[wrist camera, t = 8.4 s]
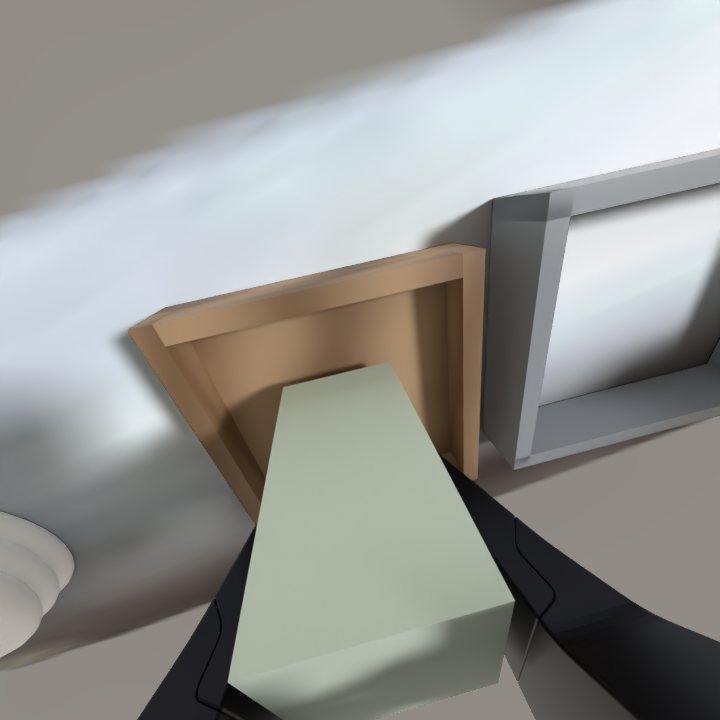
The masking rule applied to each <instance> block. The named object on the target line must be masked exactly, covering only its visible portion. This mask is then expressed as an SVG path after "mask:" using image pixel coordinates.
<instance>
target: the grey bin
mask: <svg viewBox="0 0 720 720" xmlns="http://www.w3.org/2000/svg"><path fill="white" fill-rule="evenodd" d="M715 183H720V149H716V150H711V151H707V152H702V153H698V154H693V155H689V156H684V157H679V158H675V159H670V160H666V161H661V162H657V163H652V164H648V165H643V166H639V167H634V168H629V169H625V170H620V171H616V172H611V173H607V174H602V175H598V176H593V177H589V178H584V179H580V180H575V181H570V182H566V183H561V184H557V185H552V186H548V187H543V188H539V189H534V190H530V191H525V192H520V193H516V194H511V195H507V196H502V197H498V198H493V205H492V228H491V251H490V274H489V297H488V320H487V343H486V366H485V388H484V411H483V432H484V433H485V434H486V435H487V437H488V438H489V439H490V441H491V442H492V443H493V444H494V446H495V447H496V448H497V449H498V451H499V452H500V453H501V454H502V456H503V457H504V458H505V459H506V461H507V462H508V463H509V464H510V466H511V467H512V468H513V470H516V469H519V468H523V467H527V466H531V465H535V464H538V463H542V462H546V461H550V460H554V459H557V458H561V457H565V456H569V455H572V454H576V453H580V452H584V451H588V450H591V449H595V448H599V447H603V446H607V445H610V444H614V443H618V442H622V441H625V440H629V439H633V438H637V437H641V436H644V435H648V434H652V433H656V432H660V431H663V430H667V429H671V428H675V427H678V426H682V425H686V424H690V423H694V422H697V421H701V420H705V419H709V418H713V417H716V416H720V339H719V341H718V343H717V345H716V347H715V349H714V351H713V353H712V355H711V357H710V359H709V361H708V363H707V364H704V365H700V366H697V367H693V368H689V369H685V370H681V371H677V372H673V373H669V374H665V375H661V376H657V377H653V378H649V379H646V380H642V381H638V382H634V383H630V384H626V385H622V386H618V387H614V388H610V389H606V390H602V391H599V392H595V393H591V394H587V395H583V396H579V397H575V398H571V399H567V400H563V401H559V402H555V403H552V404H548V405H544V406H540V407H538V406H539V400H540V394H541V388H542V382H543V376H544V370H545V365H546V359H547V353H548V347H549V341H550V335H551V329H552V323H553V317H554V311H555V305H556V300H557V294H558V288H559V282H560V276H561V270H562V264H563V258H564V252H565V246H566V240H567V235H568V229H569V223H570V217H571V216H574V215H578V214H583V213H587V212H591V211H596V210H600V209H605V208H609V207H614V206H618V205H622V204H627V203H631V202H636V201H640V200H645V199H649V198H653V197H658V196H662V195H667V194H671V193H676V192H680V191H684V190H689V189H693V188H698V187H702V186H707V185H711V184H715Z"/></svg>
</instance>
